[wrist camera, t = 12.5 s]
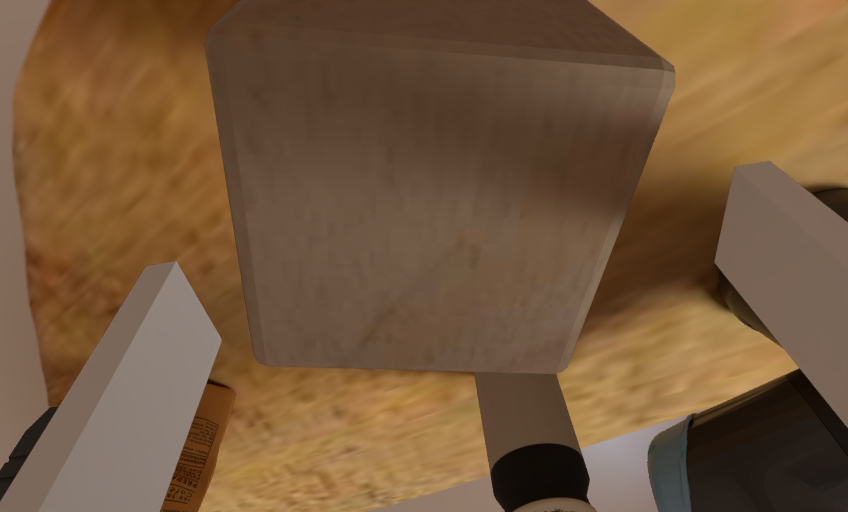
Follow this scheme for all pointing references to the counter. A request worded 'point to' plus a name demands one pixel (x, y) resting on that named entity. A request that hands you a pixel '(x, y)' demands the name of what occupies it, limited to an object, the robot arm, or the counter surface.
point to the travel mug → (531, 444)
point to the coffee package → (200, 451)
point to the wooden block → (428, 175)
